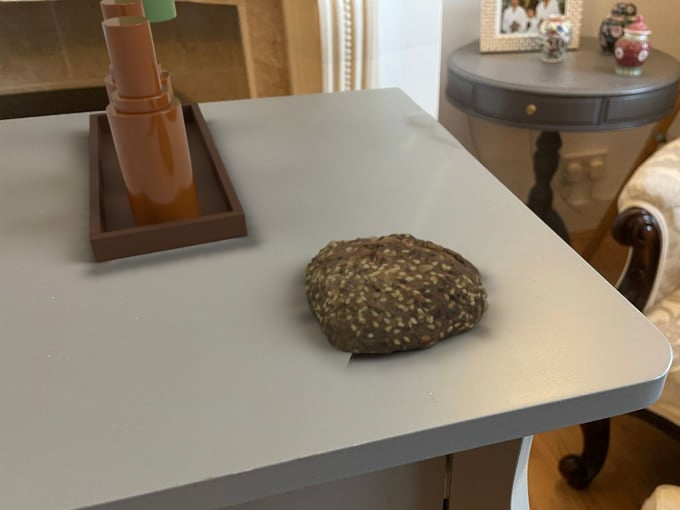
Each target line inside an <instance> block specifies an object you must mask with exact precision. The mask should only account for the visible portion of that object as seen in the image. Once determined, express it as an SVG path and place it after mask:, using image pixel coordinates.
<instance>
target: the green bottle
mask: <svg viewBox="0 0 680 510" xmlns="http://www.w3.org/2000/svg"><path fill="white" fill-rule="evenodd" d="M142 2H143V7H144V12H145V17H146V18H148V19H149V22H150V24H155V23H161V22H166V21H170V20H172V19H175V18H177V16H178V14H177V9H176V8H177V7H176V3H175V2H176V1H175V0H142Z"/></svg>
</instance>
